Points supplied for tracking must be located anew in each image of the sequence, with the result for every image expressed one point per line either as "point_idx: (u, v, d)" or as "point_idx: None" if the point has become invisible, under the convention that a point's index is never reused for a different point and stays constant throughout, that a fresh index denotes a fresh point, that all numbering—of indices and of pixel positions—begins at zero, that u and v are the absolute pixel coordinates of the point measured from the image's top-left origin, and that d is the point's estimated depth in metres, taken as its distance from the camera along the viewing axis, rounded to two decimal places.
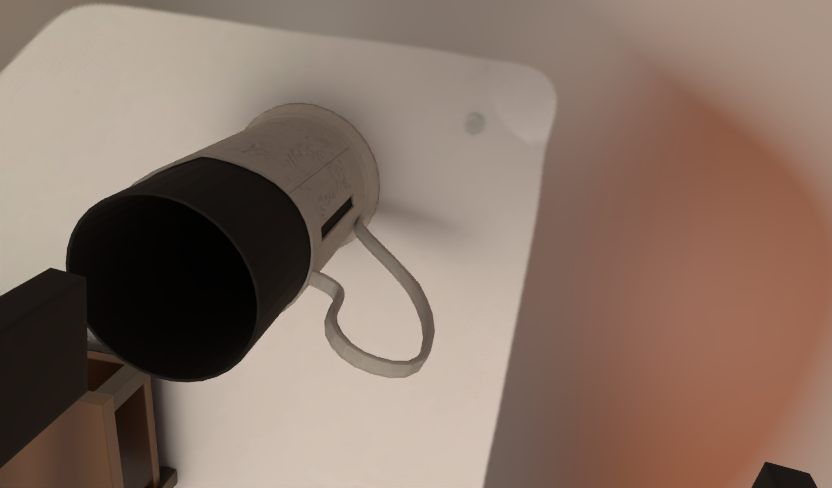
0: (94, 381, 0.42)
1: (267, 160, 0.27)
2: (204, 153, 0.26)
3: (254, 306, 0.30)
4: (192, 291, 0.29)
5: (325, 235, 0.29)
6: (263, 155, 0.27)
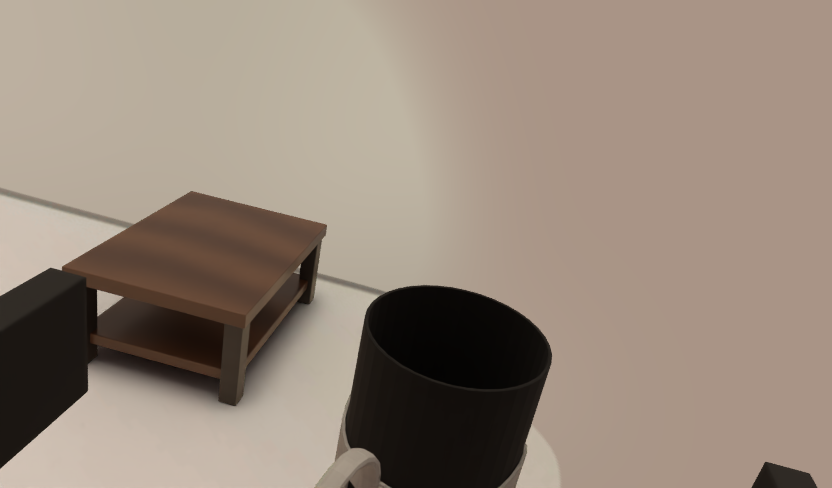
0: None
1: None
2: None
3: None
4: None
5: None
6: None
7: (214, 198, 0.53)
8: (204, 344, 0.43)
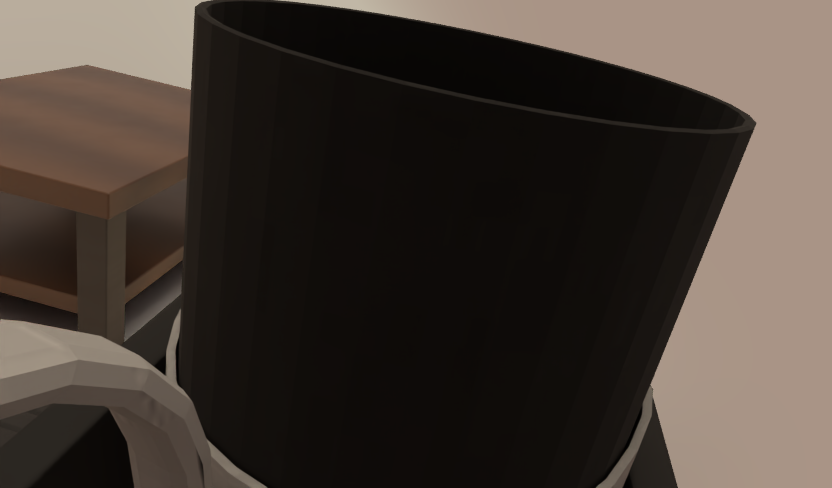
0: None
1: None
2: None
3: None
4: None
5: None
6: None
7: (119, 74, 0.37)
8: (63, 262, 0.26)
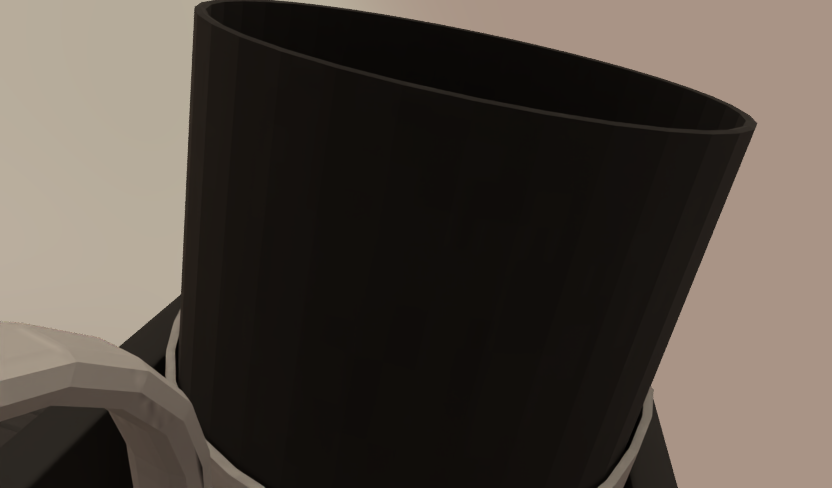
0: None
1: None
2: None
3: None
4: None
5: None
6: None
7: None
8: None
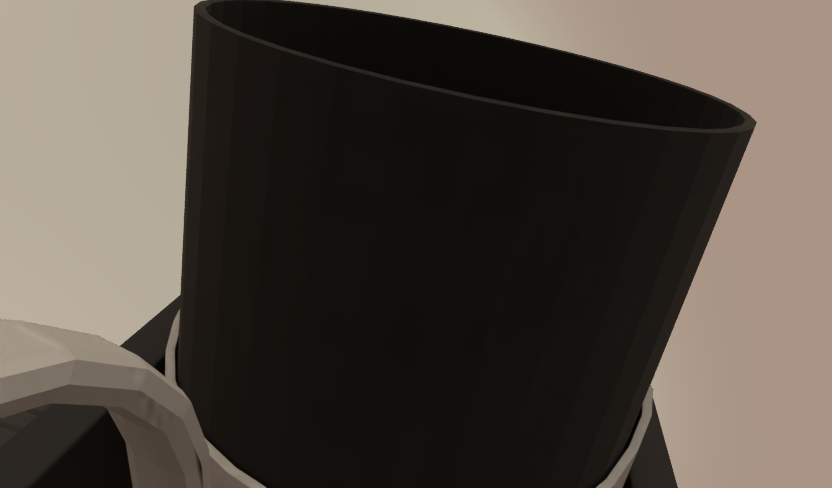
0: None
1: None
2: None
3: None
4: None
5: None
6: None
7: None
8: None
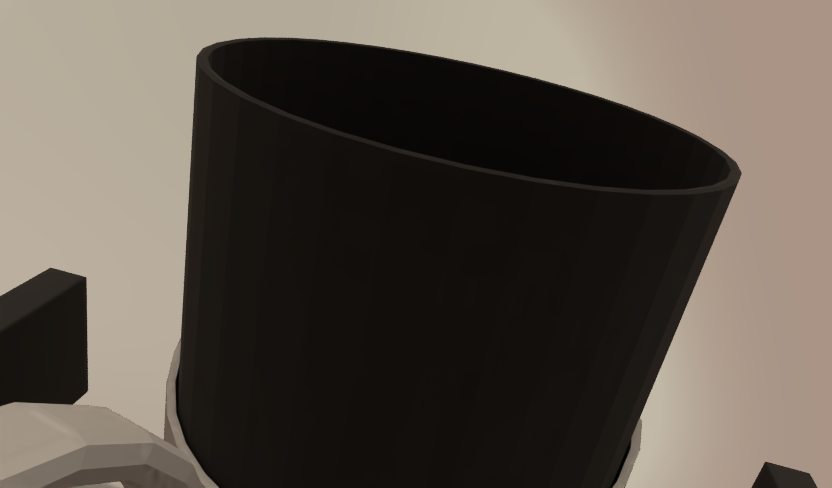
0: None
1: None
2: None
3: None
4: None
5: None
6: None
7: None
8: None
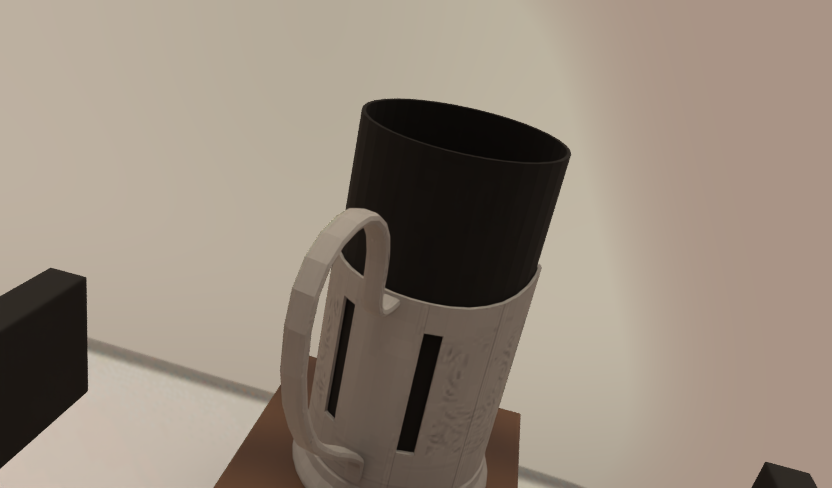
0: None
1: (523, 314, 0.23)
2: None
3: None
4: None
5: (418, 351, 0.22)
6: (524, 318, 0.24)
7: None
8: None
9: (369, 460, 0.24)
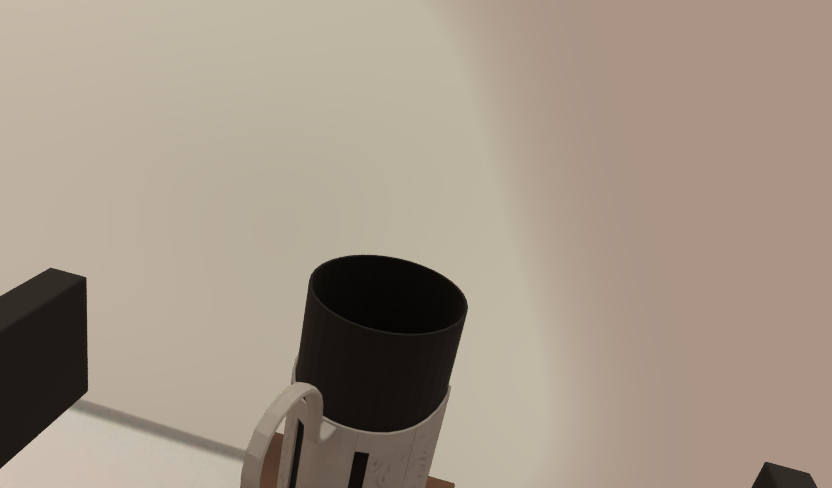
0: None
1: (435, 429, 0.31)
2: (448, 386, 0.32)
3: None
4: None
5: (352, 463, 0.29)
6: (437, 430, 0.31)
7: None
8: None
9: None
